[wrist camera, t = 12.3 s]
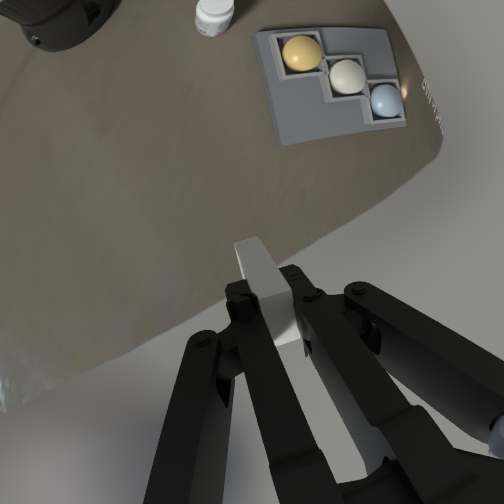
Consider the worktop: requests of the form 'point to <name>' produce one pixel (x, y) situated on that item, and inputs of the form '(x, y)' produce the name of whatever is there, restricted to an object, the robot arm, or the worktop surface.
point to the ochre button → (301, 54)
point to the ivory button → (346, 77)
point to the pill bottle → (213, 16)
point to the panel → (325, 83)
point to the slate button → (385, 100)
